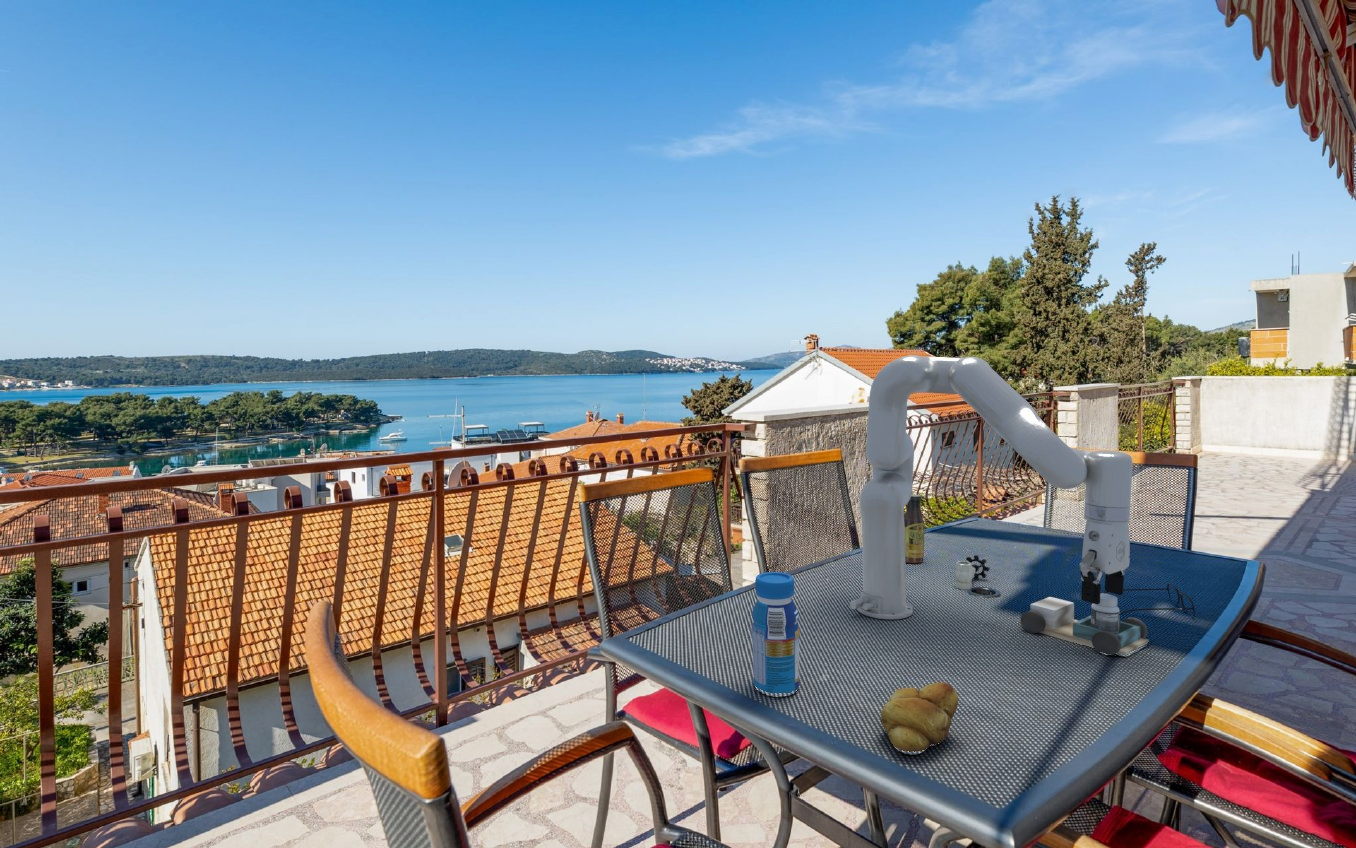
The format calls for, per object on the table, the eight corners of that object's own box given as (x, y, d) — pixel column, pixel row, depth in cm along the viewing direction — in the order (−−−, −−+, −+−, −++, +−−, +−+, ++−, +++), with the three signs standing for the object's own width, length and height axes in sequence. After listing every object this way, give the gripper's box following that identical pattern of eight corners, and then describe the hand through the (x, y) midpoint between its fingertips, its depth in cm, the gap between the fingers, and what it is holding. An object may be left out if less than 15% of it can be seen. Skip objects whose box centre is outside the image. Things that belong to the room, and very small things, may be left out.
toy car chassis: (1121, 660, 121) (1122, 633, 121) (1016, 628, 138) (1016, 604, 137) (1152, 643, 128) (1152, 618, 128) (1049, 615, 145) (1049, 592, 144)
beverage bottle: (742, 688, 114) (740, 577, 113) (771, 672, 120) (769, 567, 118) (781, 704, 108) (779, 587, 107) (810, 687, 114) (808, 576, 112)
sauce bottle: (910, 565, 187) (909, 497, 186) (897, 559, 193) (896, 494, 192) (929, 563, 188) (929, 496, 187) (916, 557, 194) (915, 492, 193)
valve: (974, 592, 162) (989, 581, 171) (974, 566, 161) (990, 556, 170) (947, 587, 166) (964, 576, 175) (947, 562, 166) (964, 552, 175)
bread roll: (926, 771, 89) (925, 714, 88) (862, 744, 95) (861, 692, 95) (963, 734, 98) (963, 682, 97) (902, 712, 104) (902, 664, 104)
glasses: (1197, 623, 139) (1194, 600, 139) (1117, 624, 144) (1114, 602, 144) (1170, 601, 153) (1167, 581, 153) (1098, 603, 158) (1096, 583, 158)
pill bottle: (1092, 631, 132) (1093, 590, 132) (1120, 636, 129) (1120, 595, 129) (1089, 638, 129) (1089, 597, 128) (1117, 643, 126) (1118, 601, 125)
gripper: (1106, 522, 120) (1102, 611, 121) (1147, 511, 129) (1142, 595, 130) (1064, 515, 126) (1060, 600, 127) (1106, 505, 135) (1102, 584, 137)
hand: (1102, 597), depth 129 cm, fingers open, 9 cm apart
